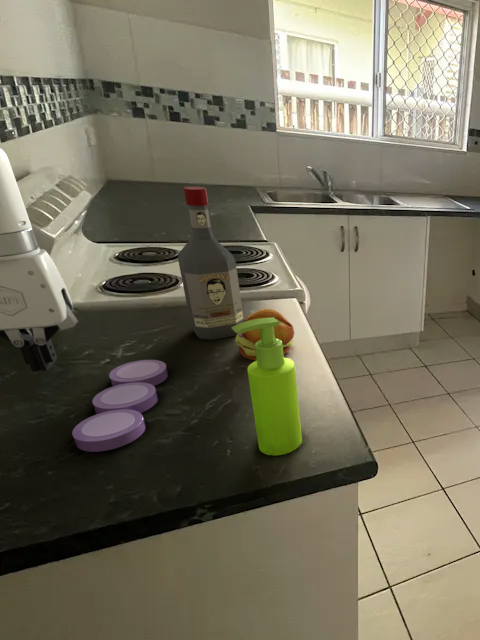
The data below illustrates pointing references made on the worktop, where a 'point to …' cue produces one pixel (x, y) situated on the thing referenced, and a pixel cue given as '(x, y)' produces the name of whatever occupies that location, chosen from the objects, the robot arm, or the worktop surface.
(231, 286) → the liquor
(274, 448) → the soap dispenser
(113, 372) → the dish
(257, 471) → the worktop surface
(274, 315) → the cheeseburger
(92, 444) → the dish
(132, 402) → the middle dish
